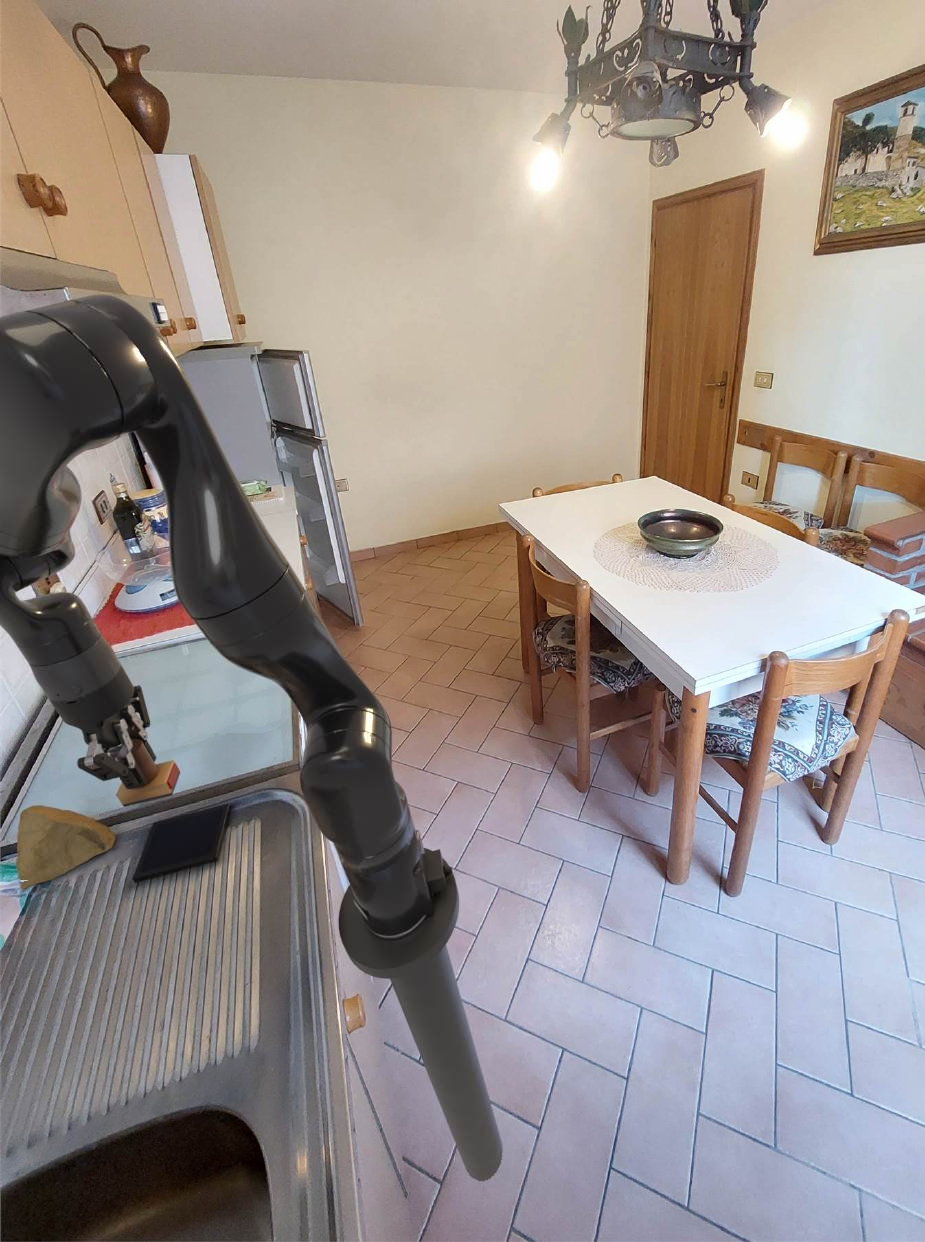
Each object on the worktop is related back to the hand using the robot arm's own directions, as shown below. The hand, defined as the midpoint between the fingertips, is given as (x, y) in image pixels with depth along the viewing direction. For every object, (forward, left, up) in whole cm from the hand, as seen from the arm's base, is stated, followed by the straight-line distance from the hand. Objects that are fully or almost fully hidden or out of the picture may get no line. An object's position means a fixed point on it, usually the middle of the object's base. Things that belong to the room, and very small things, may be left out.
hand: (142, 773), depth 73 cm
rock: (+16, -2, -15) cm, 22 cm away
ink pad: (0, 0, -15) cm, 15 cm away
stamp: (0, 0, -3) cm, 3 cm away
